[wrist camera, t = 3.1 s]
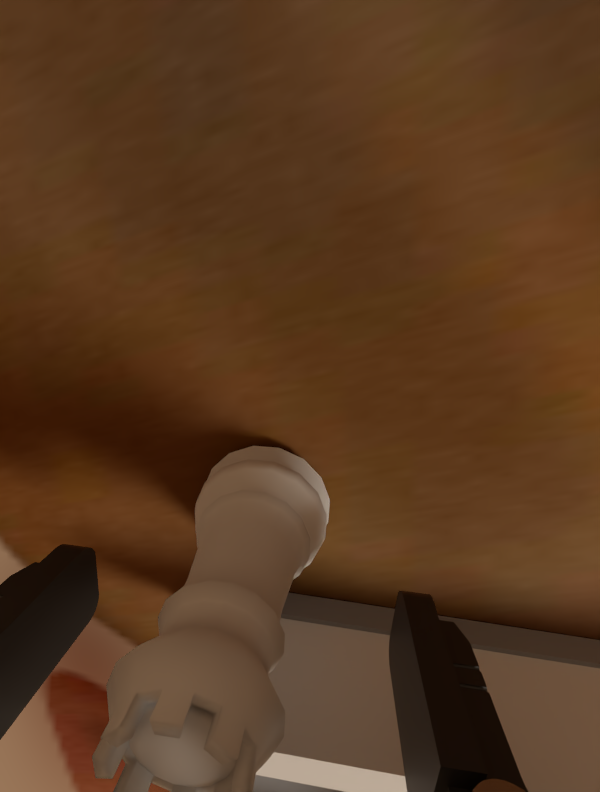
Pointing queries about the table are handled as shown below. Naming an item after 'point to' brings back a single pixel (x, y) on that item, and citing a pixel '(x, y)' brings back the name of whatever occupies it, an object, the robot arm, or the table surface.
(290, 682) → the crate bay
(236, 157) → the table surface
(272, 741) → the rook chess piece
